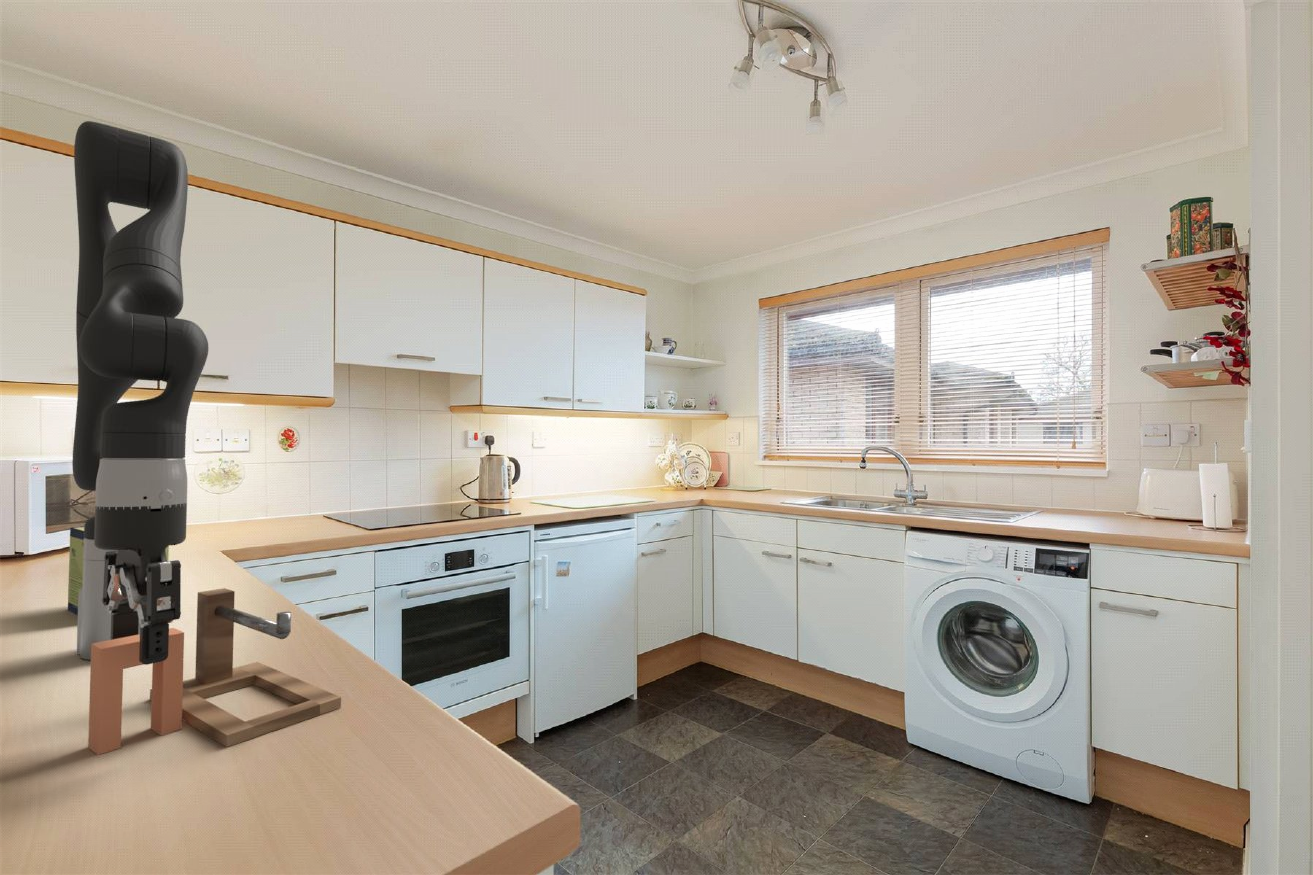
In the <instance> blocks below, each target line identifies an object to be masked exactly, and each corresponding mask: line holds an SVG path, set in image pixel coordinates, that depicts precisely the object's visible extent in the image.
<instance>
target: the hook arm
mask: <svg viewBox="0 0 1313 875" xmlns="http://www.w3.org/2000/svg"><path fill="white" fill-rule="evenodd" d="M215 615H216V616H218V617H221V618H224V619H227V620H229V621H232V622H234V623H235V624H238V625H241V626H244V627H247V628H249V629H251V630H254V631H256V632H260V633H263V634H266V635H268V636H271V637H274V638H276V639H280V640H284V639H287V638H288V637H289V635H290V633H291V632H292V630H291V629H292V627H291V626H292V612H291V611H281V612H277V613H276V622H274V621H271V620H268V619H265V618H262V617H260V616H256V615H253V614H251V613H248V612H244V611H241V610H240V609H239V610H238V609H236V608H234V609H233V608H230V607H227V606H224V605H220V606H218V607H217V608H216V609H215Z"/></svg>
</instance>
